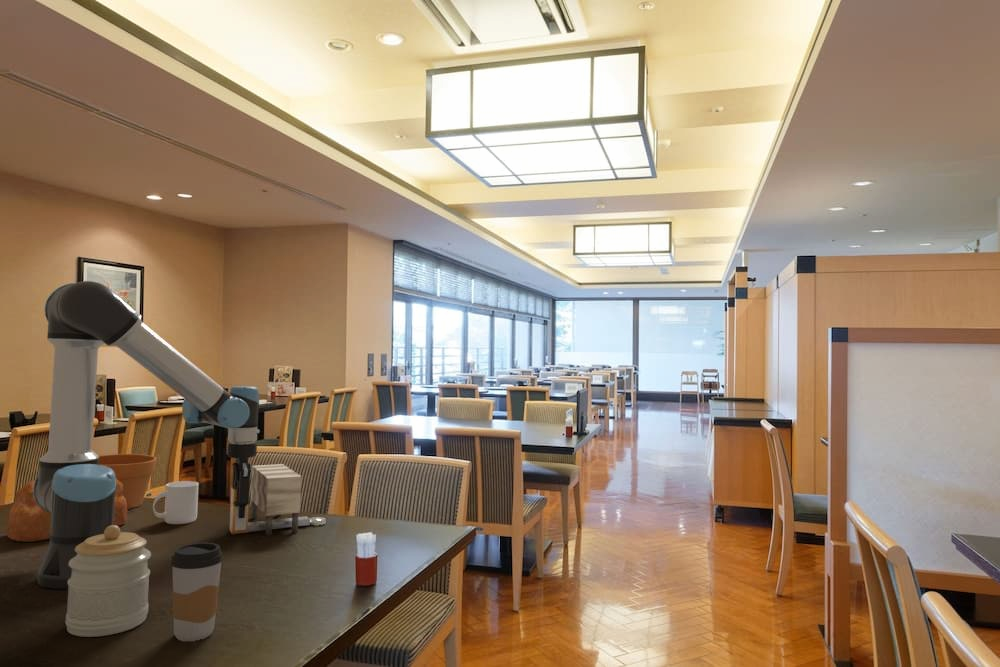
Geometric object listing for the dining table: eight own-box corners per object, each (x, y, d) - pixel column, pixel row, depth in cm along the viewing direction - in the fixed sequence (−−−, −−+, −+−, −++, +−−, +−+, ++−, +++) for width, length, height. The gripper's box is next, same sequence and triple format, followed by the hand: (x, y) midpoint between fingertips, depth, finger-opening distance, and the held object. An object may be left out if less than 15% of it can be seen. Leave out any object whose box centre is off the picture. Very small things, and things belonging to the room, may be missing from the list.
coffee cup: (205, 620, 122) (209, 539, 122) (228, 634, 116) (232, 548, 117) (159, 634, 115) (163, 548, 116) (181, 649, 110) (185, 558, 110)
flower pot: (169, 502, 214) (171, 456, 214) (115, 516, 193) (118, 466, 194) (117, 496, 219) (119, 452, 220) (59, 510, 199) (62, 461, 200)
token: (328, 525, 192) (328, 519, 192) (311, 527, 189) (312, 522, 189) (321, 521, 196) (321, 516, 196) (305, 523, 193) (305, 518, 193)
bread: (131, 525, 185) (134, 470, 186) (21, 546, 164) (24, 483, 164) (109, 517, 193) (111, 464, 194) (1, 535, 172) (4, 476, 172)
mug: (147, 522, 189) (148, 484, 189) (190, 515, 197) (192, 480, 197) (156, 528, 182) (158, 489, 183) (201, 521, 191) (203, 484, 191)
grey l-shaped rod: (309, 525, 189) (311, 483, 189) (232, 534, 178) (233, 489, 178) (306, 522, 192) (307, 480, 193) (229, 530, 182) (231, 486, 182)
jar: (161, 610, 126) (165, 517, 127) (124, 639, 113) (129, 535, 114) (92, 609, 126) (96, 516, 126) (47, 638, 113) (53, 534, 113)
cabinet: (299, 532, 182) (301, 476, 183) (265, 536, 178) (267, 478, 178) (280, 514, 201) (282, 464, 202) (249, 517, 197) (252, 465, 197)
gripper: (263, 445, 176) (259, 533, 176) (250, 437, 191) (247, 519, 190) (233, 446, 172) (229, 536, 172) (223, 438, 187) (219, 521, 186)
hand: (238, 527), depth 181 cm, fingers closed on grey l-shaped rod, 4 cm apart
